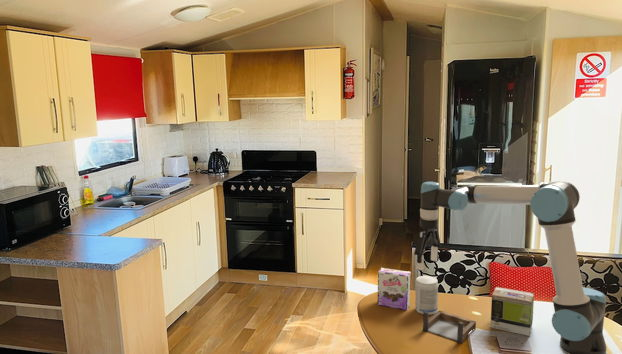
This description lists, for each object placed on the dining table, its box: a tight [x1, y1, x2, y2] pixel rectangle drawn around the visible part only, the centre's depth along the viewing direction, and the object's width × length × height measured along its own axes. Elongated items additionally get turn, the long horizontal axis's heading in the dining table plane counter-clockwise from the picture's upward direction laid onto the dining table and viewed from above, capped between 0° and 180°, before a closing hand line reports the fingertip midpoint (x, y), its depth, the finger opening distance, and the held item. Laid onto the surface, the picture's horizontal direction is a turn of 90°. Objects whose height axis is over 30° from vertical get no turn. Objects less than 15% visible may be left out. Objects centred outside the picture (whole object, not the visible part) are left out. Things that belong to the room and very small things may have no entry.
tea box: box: [490, 286, 535, 337], centre depth 194 cm, size 15×10×15 cm
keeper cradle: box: [422, 310, 477, 344], centre depth 193 cm, size 16×16×8 cm
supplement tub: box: [414, 275, 439, 316], centre depth 209 cm, size 10×10×15 cm
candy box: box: [377, 267, 412, 311], centre depth 214 cm, size 14×6×16 cm, turn 67°
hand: (427, 265), depth 206 cm, fingers open, 13 cm apart
